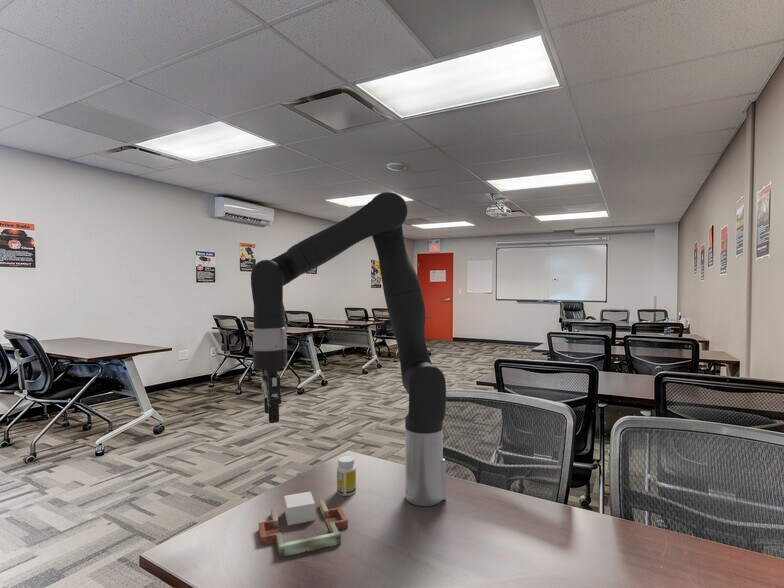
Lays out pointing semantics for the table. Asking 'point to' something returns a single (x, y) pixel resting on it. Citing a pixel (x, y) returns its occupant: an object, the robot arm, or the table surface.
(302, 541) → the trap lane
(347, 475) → the supplement bottle
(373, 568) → the table surface
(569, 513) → the table surface
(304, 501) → the grey block
